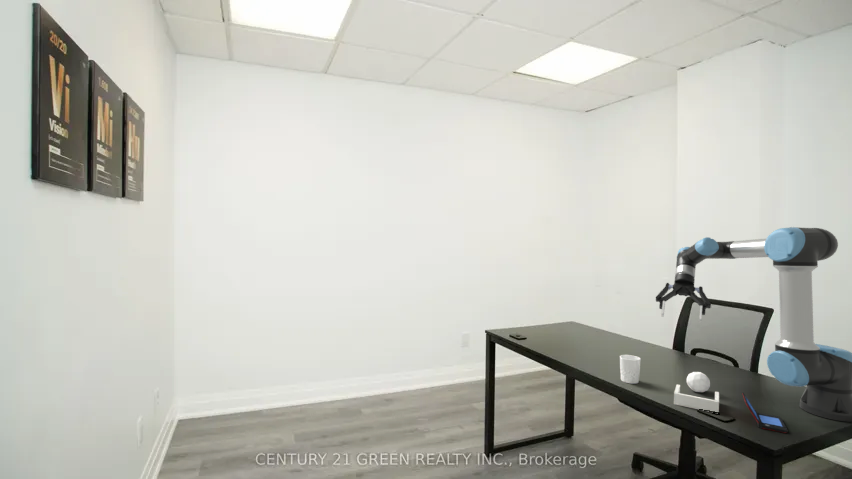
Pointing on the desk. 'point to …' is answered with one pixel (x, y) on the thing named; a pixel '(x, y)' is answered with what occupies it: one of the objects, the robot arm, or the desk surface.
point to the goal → (696, 401)
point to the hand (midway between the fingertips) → (680, 317)
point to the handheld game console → (766, 419)
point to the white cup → (630, 368)
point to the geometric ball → (698, 382)
